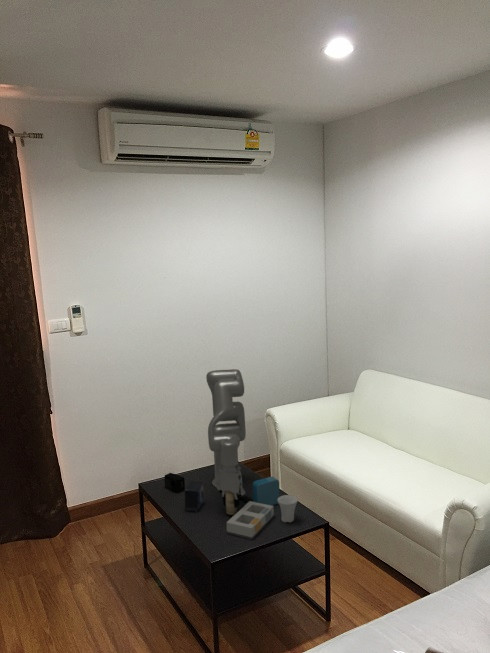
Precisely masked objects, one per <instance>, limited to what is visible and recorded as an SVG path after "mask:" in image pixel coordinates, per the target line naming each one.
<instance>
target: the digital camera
mask: <svg viewBox="0 0 490 653" xmlns="http://www.w3.org/2000/svg"><path fill="white" fill-rule="evenodd" d="M185 485H186V484H185V477H184V476H181V475H178V474H176V473H172V472H169V473H167V474H164V488H165V489H167V490H169V491H172V492H175V493H177V494H180V493H182V492H185V489H186V486H185Z"/></svg>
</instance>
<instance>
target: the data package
mask: <svg viewBox="0 0 490 653" xmlns="http://www.w3.org/2000/svg"><path fill="white" fill-rule="evenodd" d="M279 497H280V481H279V479H278V478H276V477H275V476H269V477H266V478H261V479H257V480H254V481H253V483H252V500H253V502H257V503H261V504H266V505H271V506H274V505H279V504H278V498H279Z"/></svg>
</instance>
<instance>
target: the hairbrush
mask: <svg viewBox="0 0 490 653" xmlns="http://www.w3.org/2000/svg"><path fill="white" fill-rule="evenodd" d="M239 493H241V491H240V490H239ZM241 499H242V500H244V501H246V504H247V503H248V502H249V501H252V502H253V498H250V497H248V496H246V495H245V494H244V495H242V496H241V497H240V498H239V500H241Z"/></svg>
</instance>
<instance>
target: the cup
mask: <svg viewBox="0 0 490 653" xmlns="http://www.w3.org/2000/svg"><path fill="white" fill-rule="evenodd" d="M298 501H299V500H298V497H297V496H295V495H292V494H284V495H281V496H280V495H279V498H278V504H277V505H279V507H280V511H281V521H282V522H283V523H286V522H289V523H292V522H293V521H295V510H296V506H297V505H298V504H297V503H298Z"/></svg>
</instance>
